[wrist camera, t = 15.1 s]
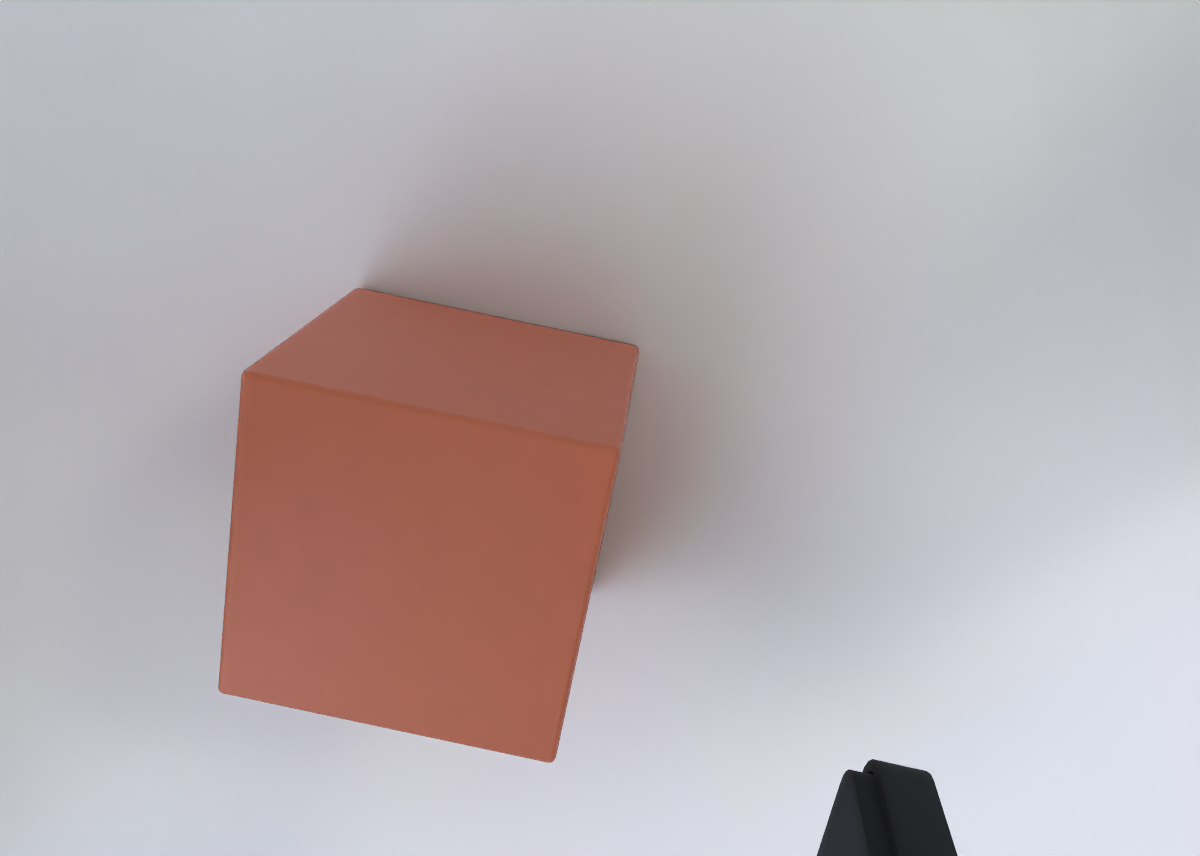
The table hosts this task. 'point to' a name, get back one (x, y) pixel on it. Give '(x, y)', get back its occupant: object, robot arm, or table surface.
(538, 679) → the terracotta cube
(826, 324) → the table surface
